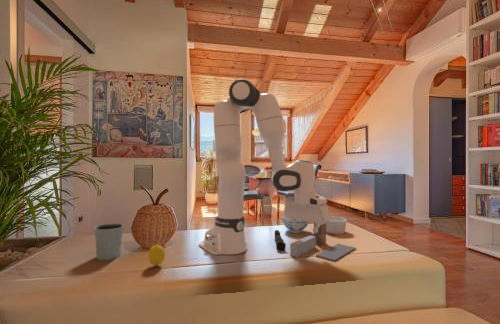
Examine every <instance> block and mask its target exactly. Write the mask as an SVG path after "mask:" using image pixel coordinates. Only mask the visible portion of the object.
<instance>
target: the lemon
mask: <svg viewBox="0 0 500 324" xmlns="http://www.w3.org/2000/svg"><path fill="white" fill-rule="evenodd" d="M165 254H166V253H165V249H164V247H163V246H162V245H161V244H160V245H159V244H158V243H157V244H155V245H152V246H151V247H150V249H149V251H148V261H149V263H150V264H151V265H153V266H155V267H158V266H159V265H160V264H162V263H163V261H164V259H165V256H166V255H165Z"/></svg>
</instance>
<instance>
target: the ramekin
mask: <svg viewBox="0 0 500 324" xmlns="http://www.w3.org/2000/svg"><path fill="white" fill-rule="evenodd" d="M347 221H348V219H346V218H344V217H340V216H333V215H332V216H330V215H329V221H328V222H327V223H326V234H331V235H342V234H344V233H345V232H346V228H347Z"/></svg>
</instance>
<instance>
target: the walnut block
mask: <svg viewBox="0 0 500 324" xmlns="http://www.w3.org/2000/svg"><path fill="white" fill-rule="evenodd" d="M315 227H316V225H315V222H313V228H315ZM313 236H315V237H316V246H317V245H318V246H320V247H321V246H324V245H326V244H327V233H326V223H325V224H322V223H321V225H320V227H319V228H318V233H313Z"/></svg>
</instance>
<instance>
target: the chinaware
mask: <svg viewBox="0 0 500 324" xmlns="http://www.w3.org/2000/svg"><path fill="white" fill-rule="evenodd" d="M281 221H282V223H283V225H284V227H285V228H286V229H287V230H288V231H289V232H290V233H294V234H300V233H302V232H303V230H305V229H306V228H307V227H308V225H309V223H310V221H304V220H298V219H297V220H296V222H297V224H298V225H299V229H294V225H293V223H292V221H291V218H286V217H285V216H284V214H283V215H281Z"/></svg>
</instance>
